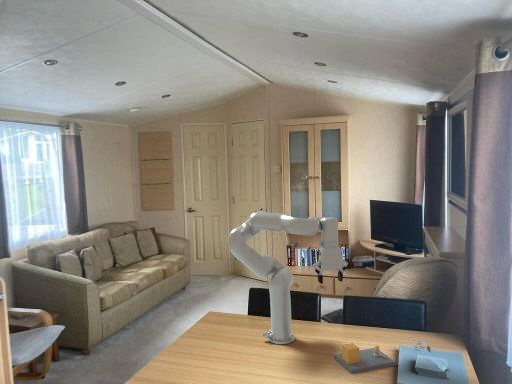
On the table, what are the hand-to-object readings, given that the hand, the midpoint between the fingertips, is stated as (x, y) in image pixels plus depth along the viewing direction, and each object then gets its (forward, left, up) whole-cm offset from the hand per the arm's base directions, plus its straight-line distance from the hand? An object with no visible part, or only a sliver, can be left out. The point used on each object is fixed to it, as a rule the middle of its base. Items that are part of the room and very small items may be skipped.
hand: (330, 282), depth 185 cm
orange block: (-2, -21, -27) cm, 34 cm away
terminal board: (+4, -21, -28) cm, 35 cm away
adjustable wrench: (+31, -26, -29) cm, 50 cm away
